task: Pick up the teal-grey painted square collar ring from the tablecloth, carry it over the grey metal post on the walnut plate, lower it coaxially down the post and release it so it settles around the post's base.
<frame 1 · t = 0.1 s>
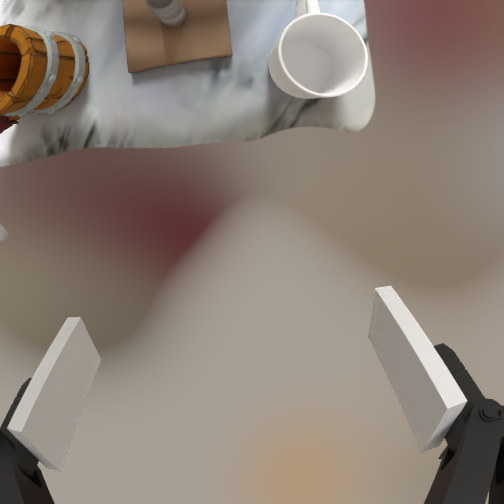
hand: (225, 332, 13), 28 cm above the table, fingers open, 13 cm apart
mug: (44, 85, 31), on the table
cup: (300, 51, 32), on the table
post block: (176, 18, 29), on the table
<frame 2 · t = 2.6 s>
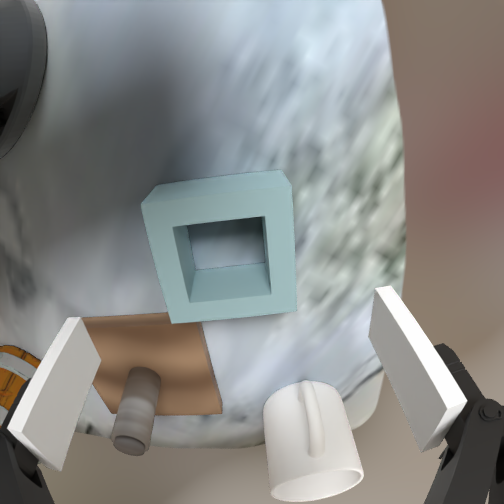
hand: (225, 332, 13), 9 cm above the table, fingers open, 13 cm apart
mug: (22, 381, 29), on the table
cup: (301, 392, 30), on the table
post block: (147, 366, 27), on the table
ring: (225, 234, 22), on the table
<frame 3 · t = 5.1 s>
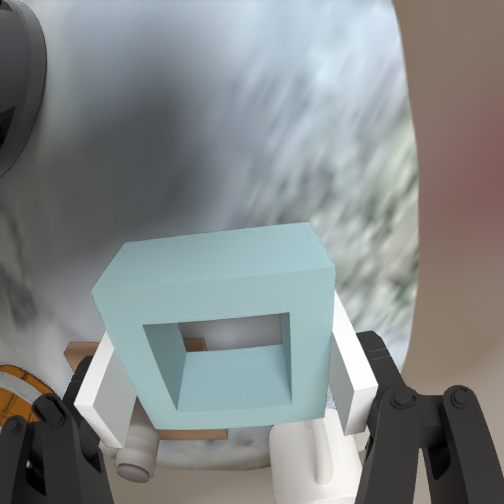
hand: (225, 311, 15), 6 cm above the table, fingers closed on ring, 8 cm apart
mug: (23, 400, 28), on the table
cup: (308, 417, 28), on the table
post block: (151, 391, 26), on the table
ring: (226, 310, 15), point 6 cm above the table, touching gripper
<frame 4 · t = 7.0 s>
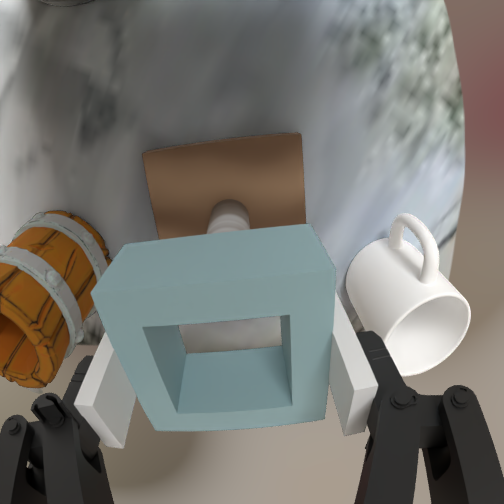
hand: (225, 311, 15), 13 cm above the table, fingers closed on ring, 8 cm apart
mug: (55, 270, 28), on the table
cup: (382, 255, 29), on the table
post block: (229, 211, 27), on the table
ring: (226, 312, 15), point 13 cm above the table, touching gripper
when the fingers open (2 cm above the table, at t = 9.2 s): ring stays where it is, resting on post block.
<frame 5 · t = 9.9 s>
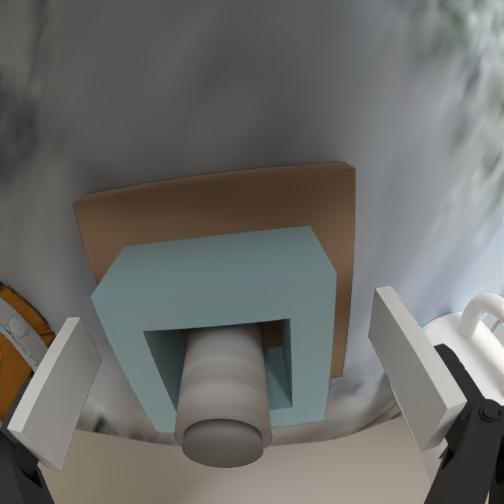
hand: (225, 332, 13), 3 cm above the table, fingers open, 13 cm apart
cup: (441, 333, 19), on the table
post block: (226, 291, 16), on the table
ring: (226, 313, 15), point 1 cm above the table, touching post block
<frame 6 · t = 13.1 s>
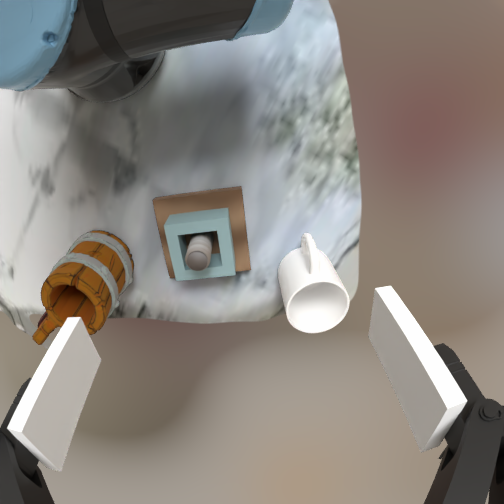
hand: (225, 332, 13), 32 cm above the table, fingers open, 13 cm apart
mug: (94, 267, 47), on the table
cup: (303, 258, 48), on the table
post block: (203, 232, 45), on the table
ring: (203, 238, 44), point 1 cm above the table, touching post block
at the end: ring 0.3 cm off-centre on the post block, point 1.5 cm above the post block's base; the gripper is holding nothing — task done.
